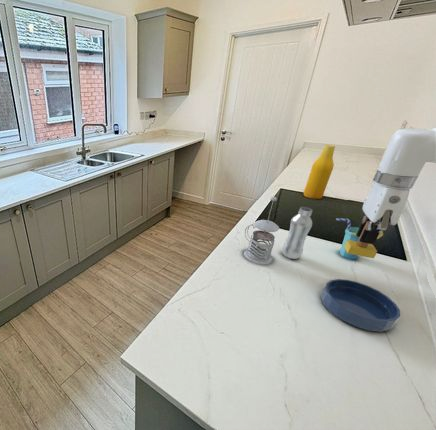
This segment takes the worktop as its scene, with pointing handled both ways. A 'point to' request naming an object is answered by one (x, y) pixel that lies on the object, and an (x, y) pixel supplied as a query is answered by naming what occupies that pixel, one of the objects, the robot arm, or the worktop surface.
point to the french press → (259, 252)
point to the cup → (351, 236)
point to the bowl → (360, 305)
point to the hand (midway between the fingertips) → (364, 239)
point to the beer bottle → (320, 174)
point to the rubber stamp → (361, 246)
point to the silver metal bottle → (297, 233)
